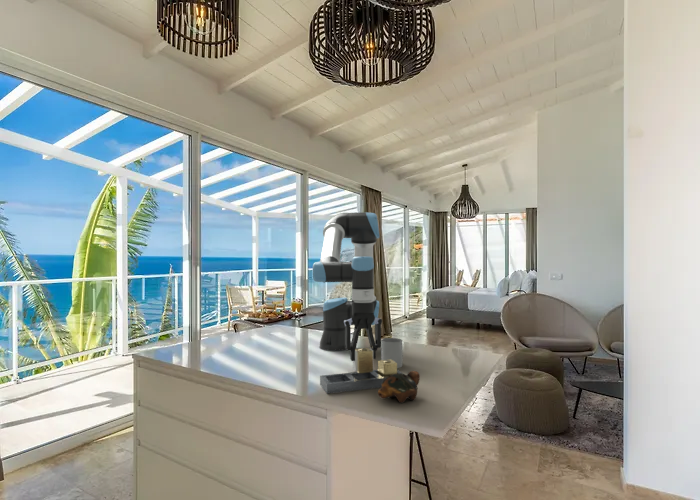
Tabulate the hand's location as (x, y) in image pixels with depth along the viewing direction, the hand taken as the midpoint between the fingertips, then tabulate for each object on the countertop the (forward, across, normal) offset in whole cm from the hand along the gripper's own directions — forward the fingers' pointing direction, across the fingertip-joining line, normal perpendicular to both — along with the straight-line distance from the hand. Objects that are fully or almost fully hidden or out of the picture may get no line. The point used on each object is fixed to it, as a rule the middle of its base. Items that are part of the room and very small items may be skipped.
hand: (363, 369), depth 135 cm
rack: (+5, 0, 0) cm, 5 cm away
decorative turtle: (+5, +6, -16) cm, 18 cm away
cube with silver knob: (0, 0, 0) cm, 0 cm away
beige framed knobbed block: (+5, +9, 0) cm, 11 cm away
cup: (+5, +19, +19) cm, 27 cm away
